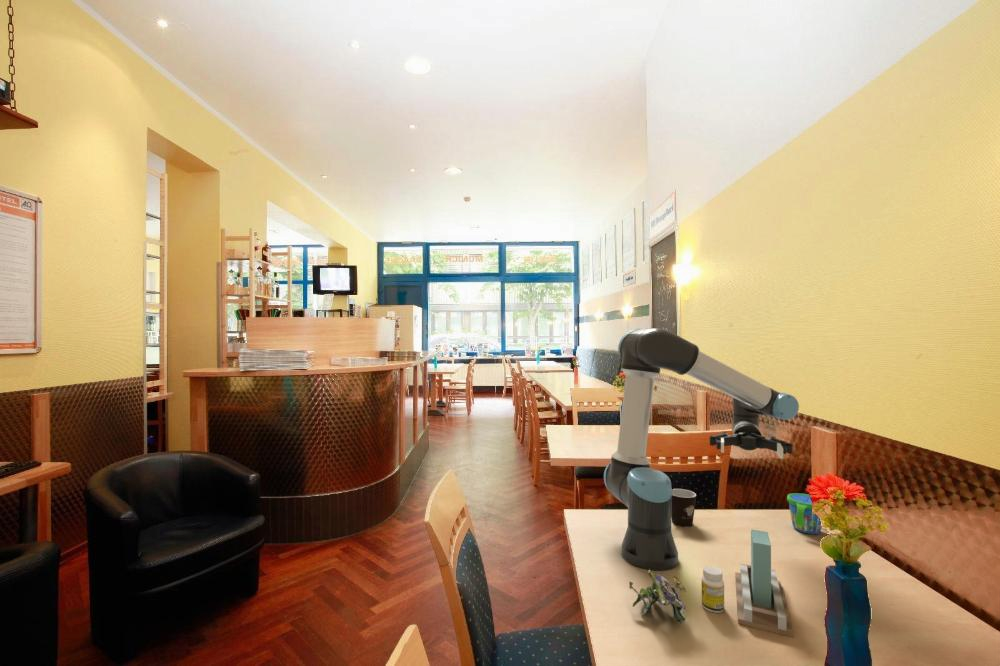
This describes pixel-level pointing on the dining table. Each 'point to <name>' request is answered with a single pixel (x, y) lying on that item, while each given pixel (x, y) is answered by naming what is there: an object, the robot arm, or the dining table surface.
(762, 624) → the track
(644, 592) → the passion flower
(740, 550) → the dining table surface
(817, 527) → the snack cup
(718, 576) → the supplement bottle
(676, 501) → the coffee mug
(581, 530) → the dining table surface
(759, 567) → the teal rectangular block
